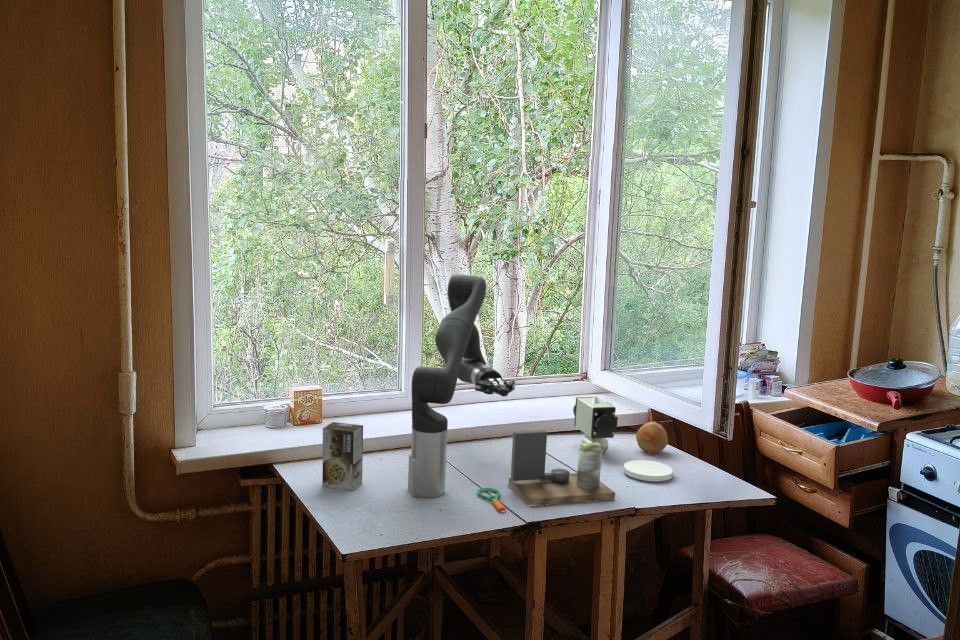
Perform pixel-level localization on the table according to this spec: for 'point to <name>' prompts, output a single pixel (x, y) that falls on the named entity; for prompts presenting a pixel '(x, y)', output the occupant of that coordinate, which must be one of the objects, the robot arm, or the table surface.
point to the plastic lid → (648, 470)
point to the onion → (652, 438)
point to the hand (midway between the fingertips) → (505, 392)
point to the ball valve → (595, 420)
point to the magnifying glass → (492, 498)
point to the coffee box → (342, 456)
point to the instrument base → (569, 483)
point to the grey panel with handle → (533, 458)
